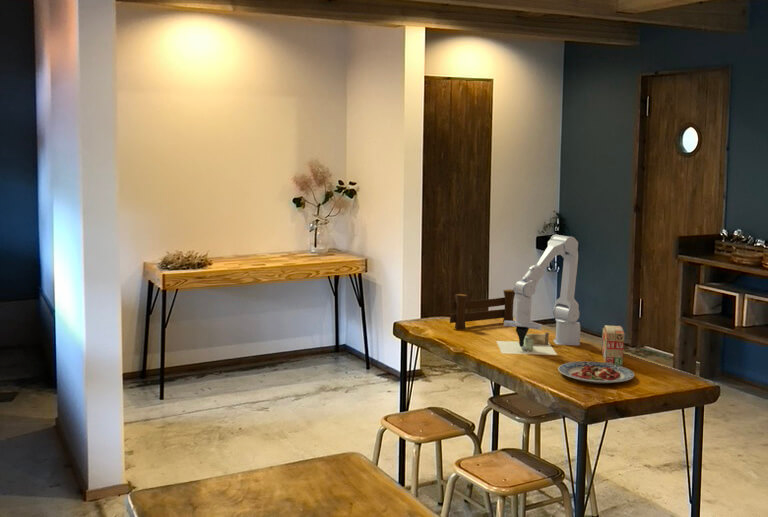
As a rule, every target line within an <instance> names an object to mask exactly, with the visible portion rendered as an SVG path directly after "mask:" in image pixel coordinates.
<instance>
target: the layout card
mask: <svg viewBox="0 0 768 517" xmlns="http://www.w3.org/2000/svg"><path fill="white" fill-rule="evenodd" d="M495 342H496V344H497V346H498V348H499V350H500V353H501V355H502V354H509V355H543V356H545V355H547V356H549V355H550V356H558V353H557V352H556V351H555V349H554V348H553V347H552V345H551V344H550V342H549V341H548V345H545V344H533V351H529V350H528V349H527V348H525V347H524V346H520V344H519V341H511V340H510V341H509V340H508V341H506V340H496V341H495Z"/></svg>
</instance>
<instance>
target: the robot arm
mask: <svg viewBox="0 0 768 517" xmlns="http://www.w3.org/2000/svg"><path fill="white" fill-rule="evenodd" d="M578 248H579V241H578V240H577V239H576V237H574V236H567V235H561V234H560V235H559V234H557V233H556V234H555V233H554V234H553V235H552V236H551V237H550V239H549V240H548V241H547V247H546V248H545V249H544V252H543V253H542V255H541V257H540V258H539V260H538V262H536V264H533V265H531V266H530V267H529V268H528V270H527V272H526V273H525V275H524V276H523V277H522V278H521V279H520V280H518V281H516V283H515V285H514V287H513V290H514V292H515V299H516V301H515V302H516V303H515V304H516V305H515V320H513V321H507V320H505V321H504V323H503V327H513V328H516V329H515V332H516V335H517V336H518V341H519V340H520V346H524V338H525V336H526V334H528V332H529V330H532V329H533V330H538V331H541V330H542V328H543V324H541V323H535V322H531V316H532V314H531V313H532V299H533V298H532V297H533V295H534V294H535V293H536V288H537V285H538V283H539V282H540V281H541V279H542V278H543V276H544V275H545V269H546V268H547V267H548V266H549V264H550V263H551V262H552V261H553V260H554V258H555V257H556V256H561V257H562V258H563V263H562V265H563V266H562V273H561V275H562V276H561V283H560V284H561V286H560V292H559V293H560V296H559V298H557V299H556V300H555V302H554V306H553V309H552V316H553V317H554V318H555V320H554V321H555V322H556V324H555V325H556V326H555V339H552V340H553V342H554V344H555V345H557V346H558V345H560V346H581V344H580V342H581V323H580V322H579V321H578V320H579V318H580V310H579V307H580V305H579V303H578V302H577V300H576V299H575V293H576V292H575V291H576V282H577V273H578V265H579V264H578V262H579V251H578V250H579V249H578Z"/></svg>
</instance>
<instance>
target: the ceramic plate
mask: <svg viewBox="0 0 768 517" xmlns="http://www.w3.org/2000/svg"><path fill="white" fill-rule="evenodd" d="M557 370H558V372H559V373H560V374H562V375H564V376H566V377H568V378H570V379H571V378H572V379H575V380H578V381H580V382H585V383H591V384H603V385H604V384H605V385H606V384H615V383H621V382H626V381H630V380H632V379H633V378H634V377H635V373H634V371H632V370H631V369H629V368H628V367H624V366H623V365H614V364H609V363H605V362H601V361H600V362H599V361H586V360H585V361H582V360H581V361H570V362H565V363H563V364H561V365H559V366H558V368H557Z"/></svg>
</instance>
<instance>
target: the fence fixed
mask: <svg viewBox="0 0 768 517" xmlns="http://www.w3.org/2000/svg"><path fill="white" fill-rule="evenodd" d="M526 336H527V337H528V338H530V339H533V344H545V345H548V342H549V336H550V335H549V332H544V333H527V334H526ZM518 342H519V344H520V340H519V339H518Z"/></svg>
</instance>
